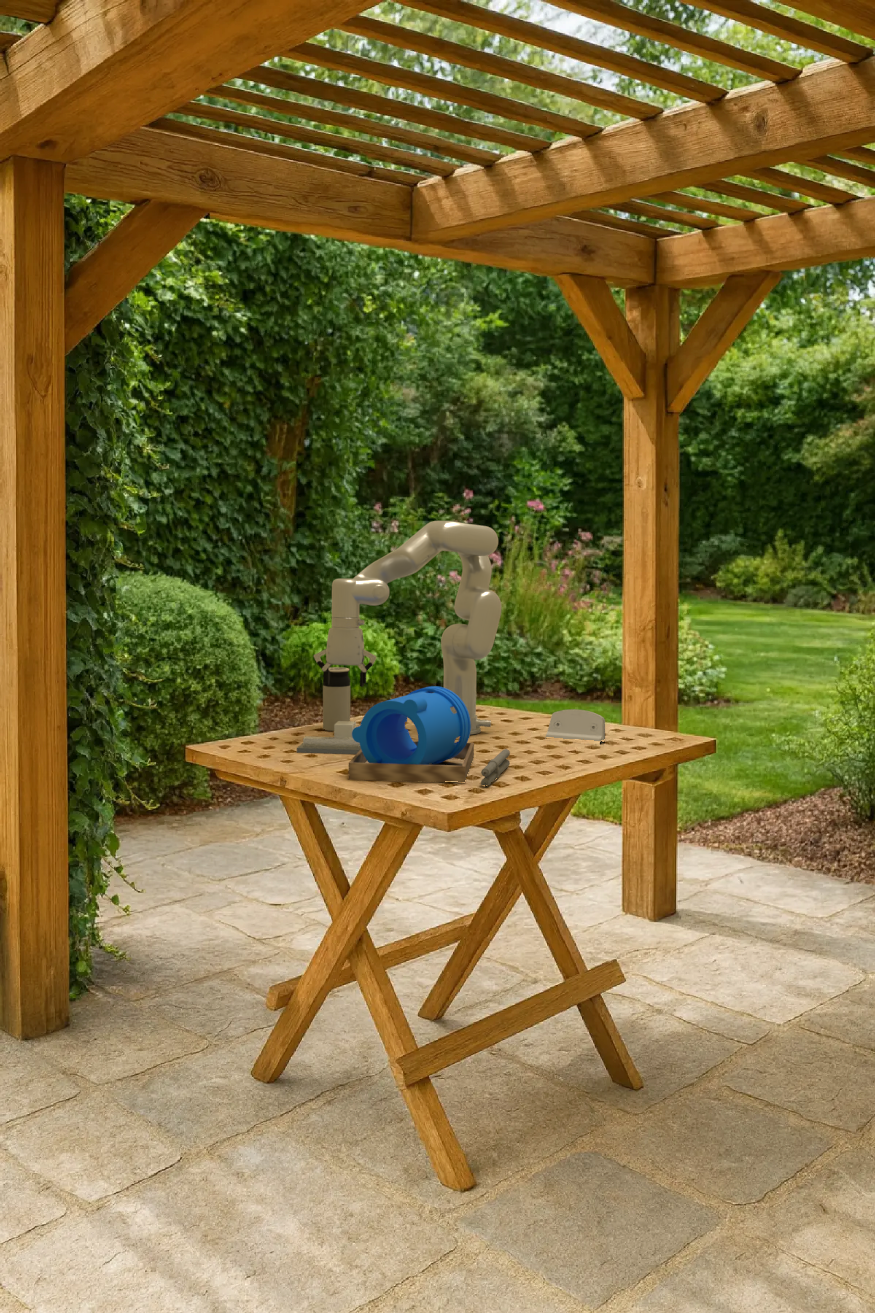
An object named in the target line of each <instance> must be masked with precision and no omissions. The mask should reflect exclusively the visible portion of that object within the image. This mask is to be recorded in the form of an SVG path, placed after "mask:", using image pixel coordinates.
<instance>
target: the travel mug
mask: <svg viewBox="0 0 875 1313" xmlns="http://www.w3.org/2000/svg"><path fill="white" fill-rule="evenodd" d="M329 671H330V684H329V685H328V686H325V682H323V681H322V729H323V730H324V729H325V730H324V731H326V730H327V732H332V731H334V725H335V724H336V723H337V722H338V721H351V679H350V677H349V672H350V668H347V667H339V666H337V667H336V666H335V667H329Z"/></svg>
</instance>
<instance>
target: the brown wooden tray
mask: <svg viewBox="0 0 875 1313" xmlns="http://www.w3.org/2000/svg"><path fill="white" fill-rule="evenodd" d="M412 741H413V742H414V743H415V745H416V746H417V744H418V740H412ZM456 742H457V741H455V742H454V743H456ZM474 755H475V742H467V744H466V746H465V747H464V749H463V750H462V751H461V752H460V753H459V754H458V755H456V756H455V757H453V758H452V759H464V760H463V761H462V765H447V764H446V765H445V764H429V765H418V764H387V763H369V762H368V761H367V760H366V758H365V757H364V755H363V753H362V750H361V749H360V750H359V752H358V753H357V754H354V756H353V757H352V759H350V761H349V762H348V780H350V781H375V782H378V781H379V782H381V781H385V782H406V781H407V782H411V783H412V782H413V783H415V782H416V783H419V782H418V781H422V782H421V783H437V782H445V781H458V782H465V780H466V781H467V779H466V777H467V778H468V776H467V774H468V775H469V773H470V770H469V769H471V767H472V764H473V762H472V761H474V759H473V758H474V757H475V756H474ZM471 763H472V764H471ZM470 766H471V767H470ZM468 772H469V773H468ZM465 783H466V782H465Z"/></svg>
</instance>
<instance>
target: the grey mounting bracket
mask: <svg viewBox="0 0 875 1313" xmlns="http://www.w3.org/2000/svg"><path fill="white" fill-rule="evenodd" d="M546 737H554V738H563V739H581V740H583V739H584V740H594V741H601V740H604V739H605V740H606V719H605V718H604V717H603V716H602V715H600V714H598V713H595V712H593V711H589V710H586V709H585V710H584V709H577V708H576V709H574V708H573V709H563V710H558V711H555V712H553V713H552V714H551V717H550V720H549V725H548V728H547V731H546V734H545V738H546Z"/></svg>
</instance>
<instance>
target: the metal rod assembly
mask: <svg viewBox="0 0 875 1313" xmlns="http://www.w3.org/2000/svg"><path fill="white" fill-rule="evenodd" d="M510 753H511V752H510V750H509V749H507V748H504V749H502V751H500V752H499V753H498V754H497V755H495V757H494V758H493V759H491V760H488V762H487V765H486V766H485V767H483V768H482V769H481V772H480V774H481V776H482V777H484V778H482V779H481V781H480V785H481V786H482V785H485V786H486V785H489V786H490V785H491V784H492V783H493V782H495V781H496V780H497V779H498V778H499V777H500V775H501V774H502V773H503V772H504V771H505V770H506V769H507V768H508V767H509V766H510V760H509V759H507V758H508V757H510V755H511V754H510ZM496 778H497V779H496ZM495 779H496V780H495ZM491 782H492V783H491Z"/></svg>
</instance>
